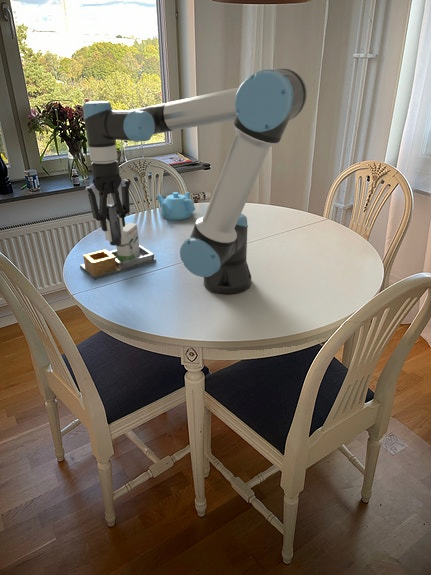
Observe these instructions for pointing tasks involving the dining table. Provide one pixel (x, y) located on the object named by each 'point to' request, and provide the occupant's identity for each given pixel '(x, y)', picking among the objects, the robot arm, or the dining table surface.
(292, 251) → the dining table surface
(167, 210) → the teapot
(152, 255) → the two-compartment tray
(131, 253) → the ink box
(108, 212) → the round pin
